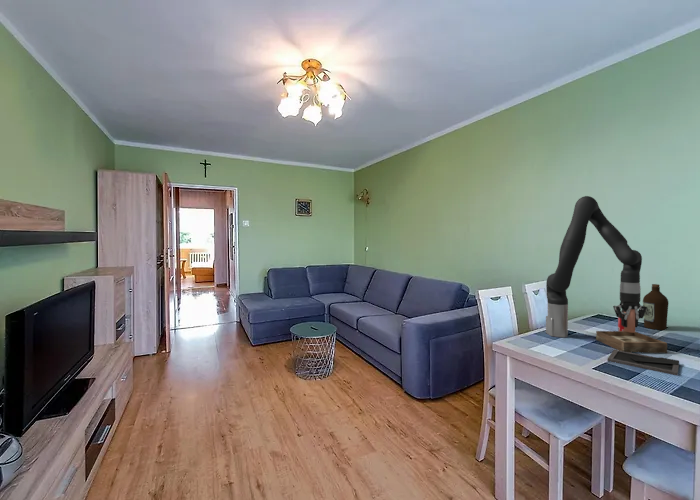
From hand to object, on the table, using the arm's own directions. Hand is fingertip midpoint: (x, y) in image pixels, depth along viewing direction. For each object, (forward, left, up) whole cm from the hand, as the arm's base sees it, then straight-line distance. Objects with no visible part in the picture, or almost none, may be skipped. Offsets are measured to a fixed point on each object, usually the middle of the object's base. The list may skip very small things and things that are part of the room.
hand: (629, 326), depth 155 cm
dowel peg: (0, 0, -2) cm, 2 cm away
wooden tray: (0, 0, -9) cm, 9 cm away
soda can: (+11, +17, -10) cm, 22 cm away
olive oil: (+37, +32, -10) cm, 50 cm away
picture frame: (-10, -21, -10) cm, 26 cm away
